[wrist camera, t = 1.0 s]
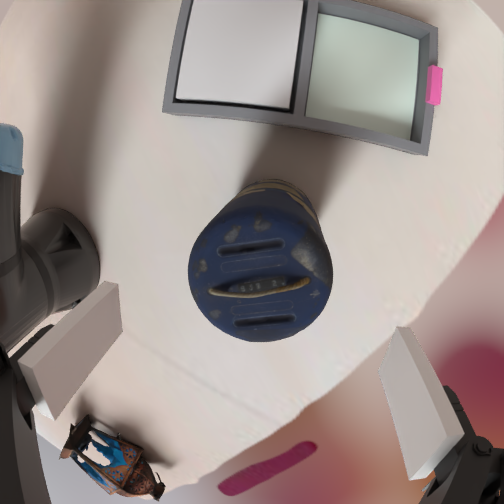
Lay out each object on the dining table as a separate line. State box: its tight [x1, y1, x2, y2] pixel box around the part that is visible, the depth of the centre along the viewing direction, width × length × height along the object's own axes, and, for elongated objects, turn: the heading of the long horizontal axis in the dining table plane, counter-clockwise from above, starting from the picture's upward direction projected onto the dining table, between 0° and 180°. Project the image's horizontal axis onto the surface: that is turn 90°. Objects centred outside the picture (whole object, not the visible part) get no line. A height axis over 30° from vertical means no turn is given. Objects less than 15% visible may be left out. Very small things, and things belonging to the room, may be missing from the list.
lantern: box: [59, 414, 166, 501], centre depth 50 cm, size 16×16×25 cm
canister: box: [188, 179, 333, 342], centre depth 26 cm, size 10×10×18 cm
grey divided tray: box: [162, 0, 443, 156], centre depth 26 cm, size 27×15×5 cm, turn 82°
